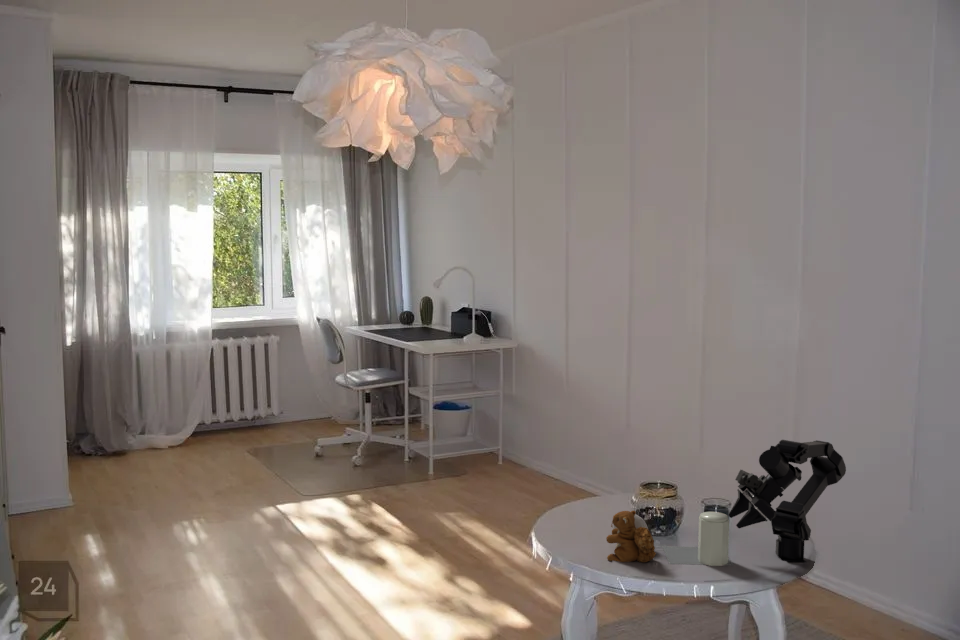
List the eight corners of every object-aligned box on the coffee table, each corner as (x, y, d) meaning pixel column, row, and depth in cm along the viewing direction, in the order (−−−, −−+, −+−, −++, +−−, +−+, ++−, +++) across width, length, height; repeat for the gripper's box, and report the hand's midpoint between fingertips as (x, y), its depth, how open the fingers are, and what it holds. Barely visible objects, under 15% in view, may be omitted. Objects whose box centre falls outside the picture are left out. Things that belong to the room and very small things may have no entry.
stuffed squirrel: (618, 549, 253) (619, 503, 252) (664, 560, 245) (665, 513, 243) (600, 559, 245) (601, 511, 244) (647, 570, 237) (648, 522, 236)
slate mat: (723, 549, 254) (723, 547, 254) (733, 566, 240) (733, 565, 240) (662, 547, 255) (662, 546, 255) (669, 565, 241) (669, 563, 241)
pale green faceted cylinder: (723, 556, 246) (724, 511, 245) (729, 566, 239) (731, 520, 238) (696, 555, 247) (697, 511, 246) (701, 565, 239) (702, 519, 238)
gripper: (746, 452, 250) (705, 491, 251) (764, 469, 231) (720, 510, 233) (774, 481, 250) (733, 519, 252) (794, 500, 232) (749, 541, 233)
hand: (733, 521), depth 242 cm, fingers open, 9 cm apart
